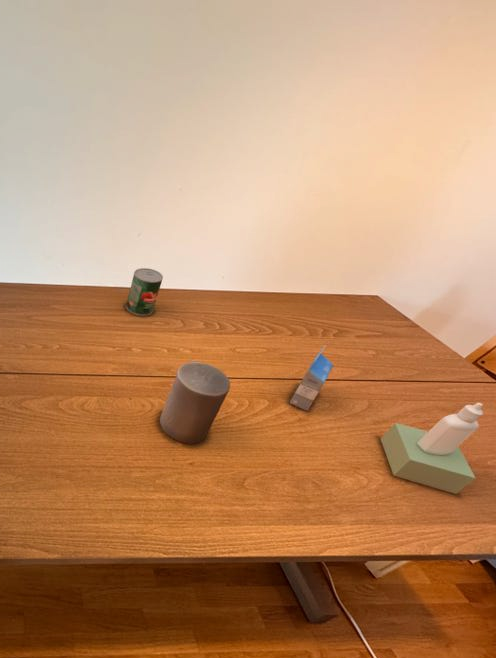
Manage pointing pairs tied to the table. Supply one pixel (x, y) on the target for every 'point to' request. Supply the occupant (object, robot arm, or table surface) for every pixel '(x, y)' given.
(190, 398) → the pillar candle
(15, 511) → the table surface
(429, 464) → the block
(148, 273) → the canned tomato
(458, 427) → the eye dropper bottle
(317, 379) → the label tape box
